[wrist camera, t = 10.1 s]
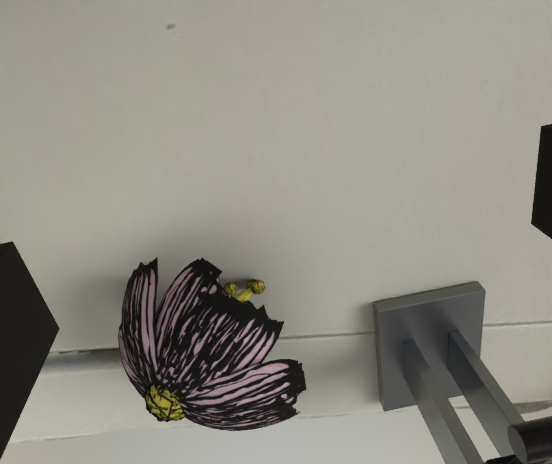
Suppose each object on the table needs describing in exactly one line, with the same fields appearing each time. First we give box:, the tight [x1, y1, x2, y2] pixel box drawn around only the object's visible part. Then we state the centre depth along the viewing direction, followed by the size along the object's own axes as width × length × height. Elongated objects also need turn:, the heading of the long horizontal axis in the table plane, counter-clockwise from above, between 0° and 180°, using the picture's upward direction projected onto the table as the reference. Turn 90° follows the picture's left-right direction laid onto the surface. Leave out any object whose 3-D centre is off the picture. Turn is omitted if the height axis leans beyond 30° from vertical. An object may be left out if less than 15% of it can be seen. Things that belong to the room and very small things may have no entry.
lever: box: [485, 416, 552, 464], centre depth 26 cm, size 13×6×2 cm, turn 9°
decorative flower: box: [118, 258, 306, 431], centre depth 32 cm, size 14×12×15 cm
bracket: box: [374, 281, 525, 464], centre depth 35 cm, size 12×9×15 cm
